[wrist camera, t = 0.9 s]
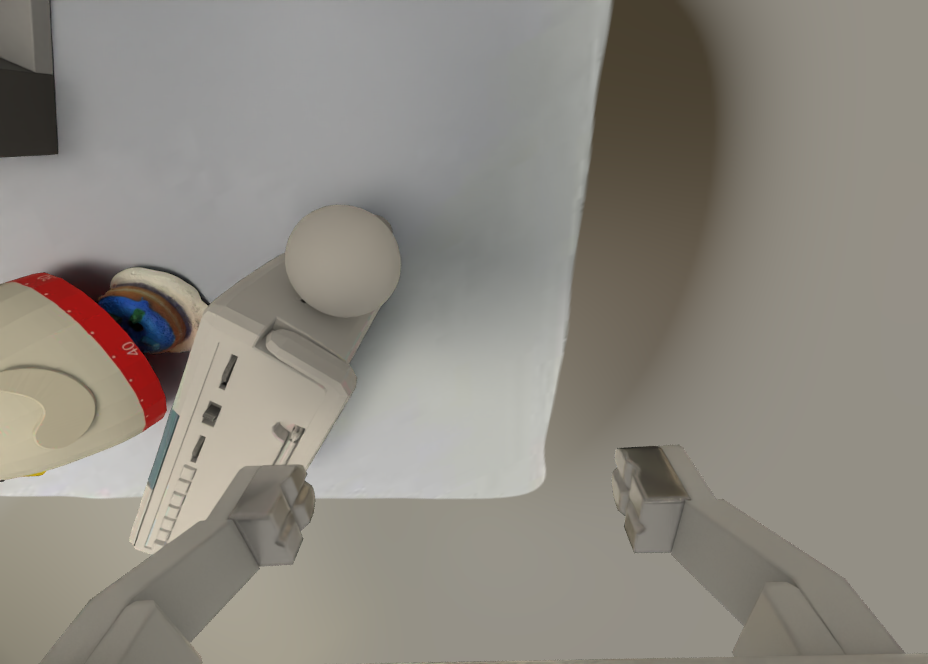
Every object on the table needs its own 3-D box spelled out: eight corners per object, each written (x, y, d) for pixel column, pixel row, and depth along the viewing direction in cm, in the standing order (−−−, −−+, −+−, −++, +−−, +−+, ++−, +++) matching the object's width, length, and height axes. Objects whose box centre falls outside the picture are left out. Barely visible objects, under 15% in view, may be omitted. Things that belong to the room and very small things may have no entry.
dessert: (92, 321, 32) (51, 320, 27) (146, 256, 33) (118, 243, 28) (190, 371, 35) (171, 380, 29) (237, 309, 36) (227, 307, 31)
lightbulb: (436, 239, 29) (414, 295, 19) (375, 284, 31) (326, 356, 21) (381, 167, 27) (325, 188, 17) (319, 220, 29) (236, 267, 19)
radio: (305, 232, 29) (34, 394, 11) (403, 288, 31) (303, 503, 13) (227, 418, 38) (2, 678, 20) (307, 454, 39) (167, 721, 22)
